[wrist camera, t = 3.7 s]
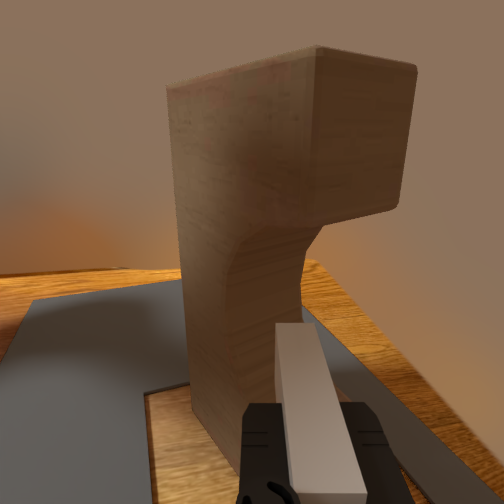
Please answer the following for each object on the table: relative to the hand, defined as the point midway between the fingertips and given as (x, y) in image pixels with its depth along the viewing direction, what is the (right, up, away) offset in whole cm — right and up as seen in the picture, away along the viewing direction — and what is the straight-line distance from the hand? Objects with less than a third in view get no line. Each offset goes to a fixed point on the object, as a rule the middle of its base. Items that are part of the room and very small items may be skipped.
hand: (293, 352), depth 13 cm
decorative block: (-1, -14, +17) cm, 22 cm away
